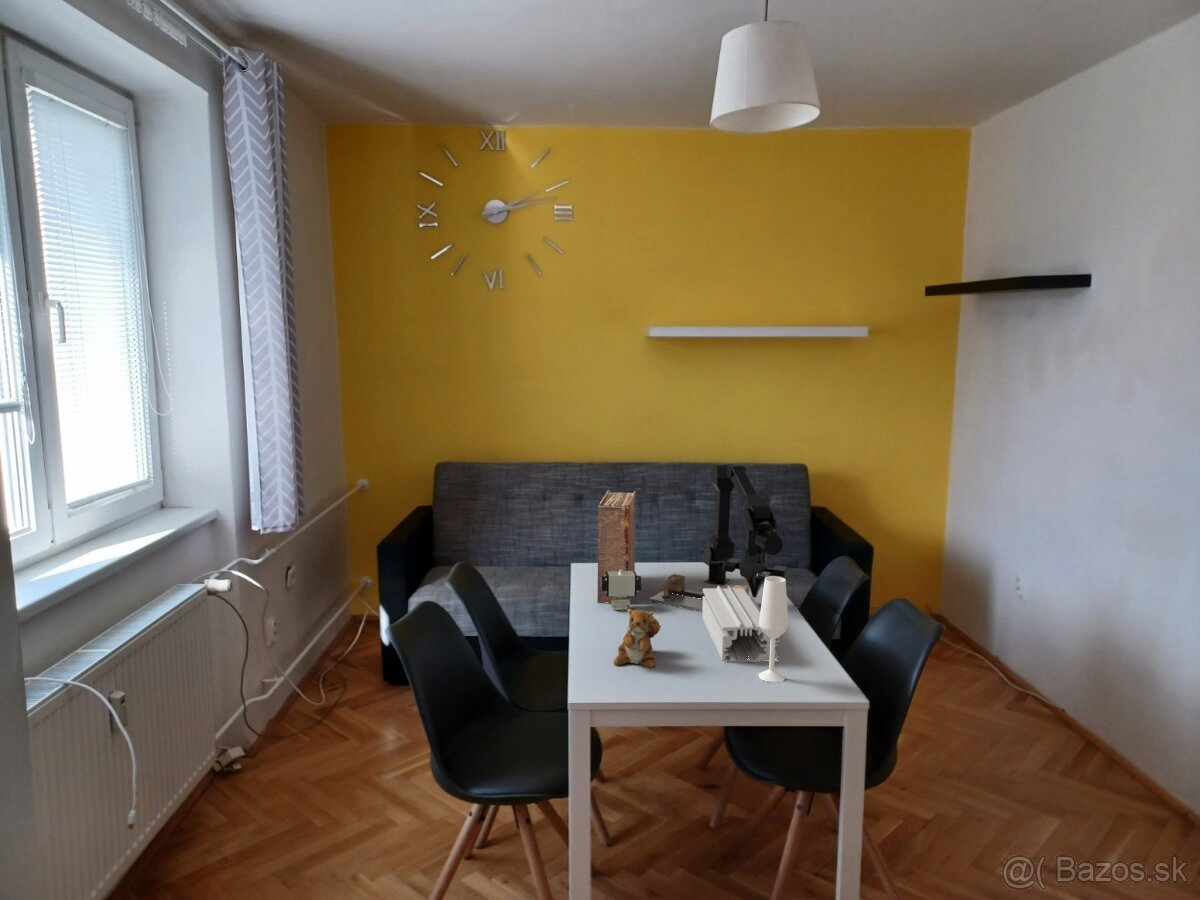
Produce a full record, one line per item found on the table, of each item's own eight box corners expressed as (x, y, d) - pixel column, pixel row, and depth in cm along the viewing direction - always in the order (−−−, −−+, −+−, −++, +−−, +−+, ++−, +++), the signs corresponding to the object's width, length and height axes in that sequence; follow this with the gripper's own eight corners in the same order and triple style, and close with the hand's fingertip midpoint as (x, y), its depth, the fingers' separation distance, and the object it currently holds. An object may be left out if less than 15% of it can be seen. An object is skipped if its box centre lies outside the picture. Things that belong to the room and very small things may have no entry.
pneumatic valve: (641, 611, 232) (642, 571, 230) (601, 612, 231) (601, 572, 229) (638, 604, 237) (639, 566, 236) (599, 605, 236) (600, 566, 235)
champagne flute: (753, 671, 190) (757, 575, 187) (781, 671, 191) (785, 574, 187) (761, 683, 184) (765, 583, 180) (789, 683, 184) (793, 583, 181)
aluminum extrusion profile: (751, 619, 227) (752, 585, 226) (778, 662, 197) (780, 623, 195) (701, 619, 227) (702, 585, 225) (721, 662, 196) (722, 624, 195)
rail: (669, 590, 251) (669, 583, 251) (754, 606, 237) (754, 598, 237) (665, 593, 249) (665, 585, 248) (750, 609, 234) (750, 601, 234)
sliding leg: (735, 598, 240) (736, 584, 240) (748, 600, 238) (749, 587, 238) (722, 607, 231) (723, 594, 231) (735, 610, 229) (736, 596, 229)
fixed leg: (673, 586, 251) (673, 573, 250) (684, 588, 249) (685, 575, 248) (658, 595, 242) (658, 582, 241) (670, 597, 240) (670, 584, 239)
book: (607, 578, 264) (608, 489, 260) (634, 579, 263) (636, 490, 258) (597, 603, 239) (598, 505, 235) (627, 604, 238) (629, 506, 234)
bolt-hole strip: (661, 594, 247) (661, 591, 247) (733, 608, 235) (733, 604, 235) (649, 601, 240) (649, 598, 240) (723, 616, 228) (723, 612, 228)
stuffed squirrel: (611, 666, 193) (612, 614, 191) (625, 645, 206) (626, 596, 204) (652, 671, 190) (653, 619, 188) (663, 649, 203) (664, 600, 202)
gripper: (716, 547, 231) (714, 599, 233) (778, 557, 221) (776, 610, 223) (730, 539, 240) (729, 589, 242) (791, 548, 231) (788, 599, 233)
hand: (754, 597), depth 235 cm, fingers closed
